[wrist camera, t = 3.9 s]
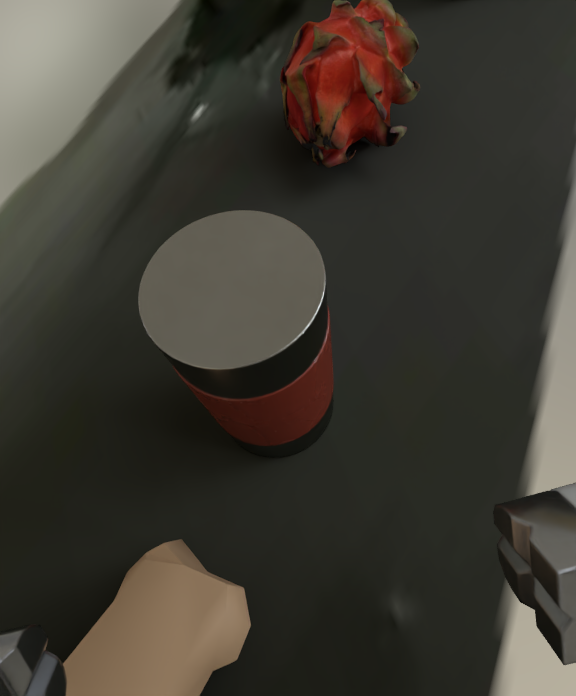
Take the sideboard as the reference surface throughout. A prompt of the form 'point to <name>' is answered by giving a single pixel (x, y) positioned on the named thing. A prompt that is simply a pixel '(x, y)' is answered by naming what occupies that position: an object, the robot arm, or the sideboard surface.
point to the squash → (161, 630)
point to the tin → (246, 326)
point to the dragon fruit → (348, 79)
